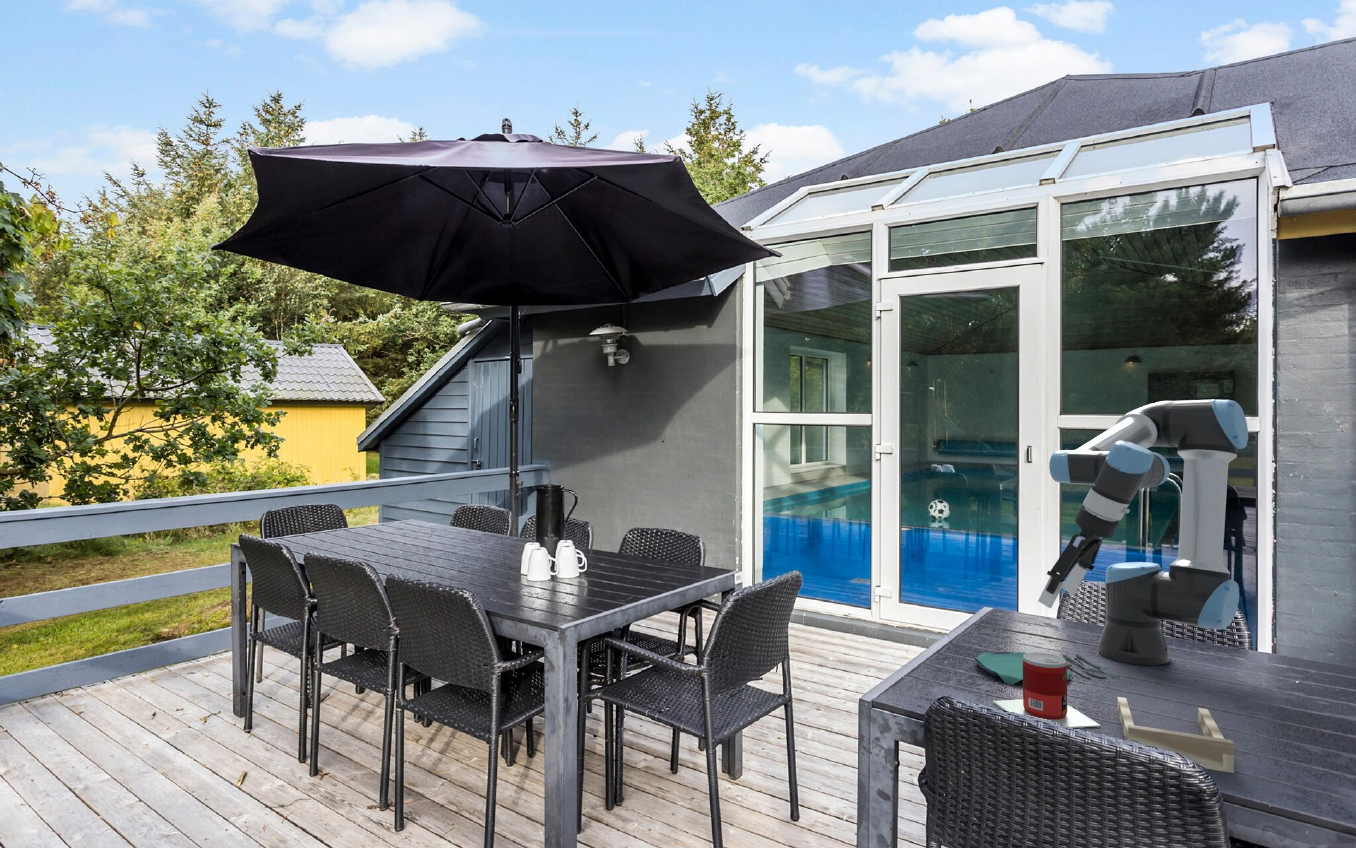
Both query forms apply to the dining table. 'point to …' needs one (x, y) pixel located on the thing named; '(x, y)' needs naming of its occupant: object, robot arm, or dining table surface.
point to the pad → (1070, 720)
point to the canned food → (1045, 685)
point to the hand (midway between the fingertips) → (1056, 597)
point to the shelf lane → (1183, 739)
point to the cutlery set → (1012, 666)
